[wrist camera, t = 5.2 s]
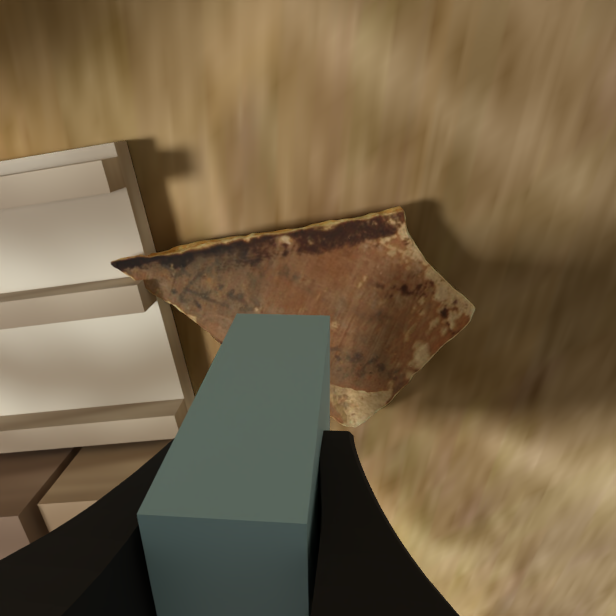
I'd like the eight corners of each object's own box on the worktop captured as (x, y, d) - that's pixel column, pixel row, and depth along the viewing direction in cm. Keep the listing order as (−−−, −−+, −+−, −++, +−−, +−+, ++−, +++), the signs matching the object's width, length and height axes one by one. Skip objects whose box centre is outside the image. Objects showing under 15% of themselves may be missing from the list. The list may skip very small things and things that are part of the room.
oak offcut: (92, 435, 21) (37, 504, 18) (179, 427, 21) (142, 497, 17) (106, 474, 22) (56, 549, 18) (191, 468, 22) (157, 543, 18)
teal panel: (252, 509, 17) (188, 774, 10) (236, 313, 14) (136, 513, 8) (329, 514, 17) (312, 787, 10) (329, 315, 14) (306, 523, 7)
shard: (125, 253, 19) (104, 266, 18) (245, 75, 17) (235, 70, 15) (351, 418, 21) (352, 445, 19) (487, 278, 19) (502, 293, 17)
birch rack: (-103, 178, 19) (-158, 187, 17) (126, 140, 18) (96, 145, 16) (34, 502, 24) (5, 538, 22) (219, 489, 23) (206, 526, 21)
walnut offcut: (0, 443, 22) (-84, 522, 18) (83, 436, 22) (17, 516, 17) (16, 481, 23) (-60, 566, 19) (97, 475, 22) (38, 561, 18)
